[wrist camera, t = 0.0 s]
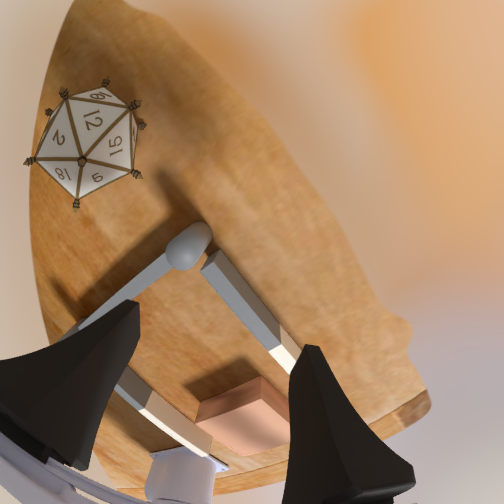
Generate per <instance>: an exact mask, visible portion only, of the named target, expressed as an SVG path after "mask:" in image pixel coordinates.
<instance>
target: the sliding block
mask: <svg viewBox="0 0 504 504" xmlns="http://www.w3.org/2000/svg"><path fill="white" fill-rule="evenodd" d="M195 424H196V425H197V426H198V427H200V428H201V429H202V430H204V431H205V432H206V433H208V434H209V435H211V436H212V437H213V438H215V439H216V440H218V441H219V442H221V443H222V444H224V445H225V446H227V447H228V448H230V449H231V450H233V451H234V452H236V453H238V454H239V455H241V456H242V457H245V456H249V455H252V454H256V453H259V452H262V451H265V450H269V449H272V448H275V447H278V446H281V445H283V444H286V443H289V442H290V419H289V402H288V401H287V400H286V399H285V398H284V397H283V396H282V395H281V394H280V393H279V392H278V391H277V390H276V389H275V388H274V387H273V386H272V385H271V384H270V383H269V382H268V381H267V380H266V379H265V378H264V377H263V376H262V375H260V376H258V377H256V378H254V379H252V380H250V381H248V382H246V383H244V384H241V385H239V386H237V387H235V388H233V389H230V390H228V391H226V392H223V393H221V394H219V395H216V396H214V397H212V398H209V399H207V400H204V401H202V402H200V404H199V408H198V412H197V416H196V420H195Z"/></svg>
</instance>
